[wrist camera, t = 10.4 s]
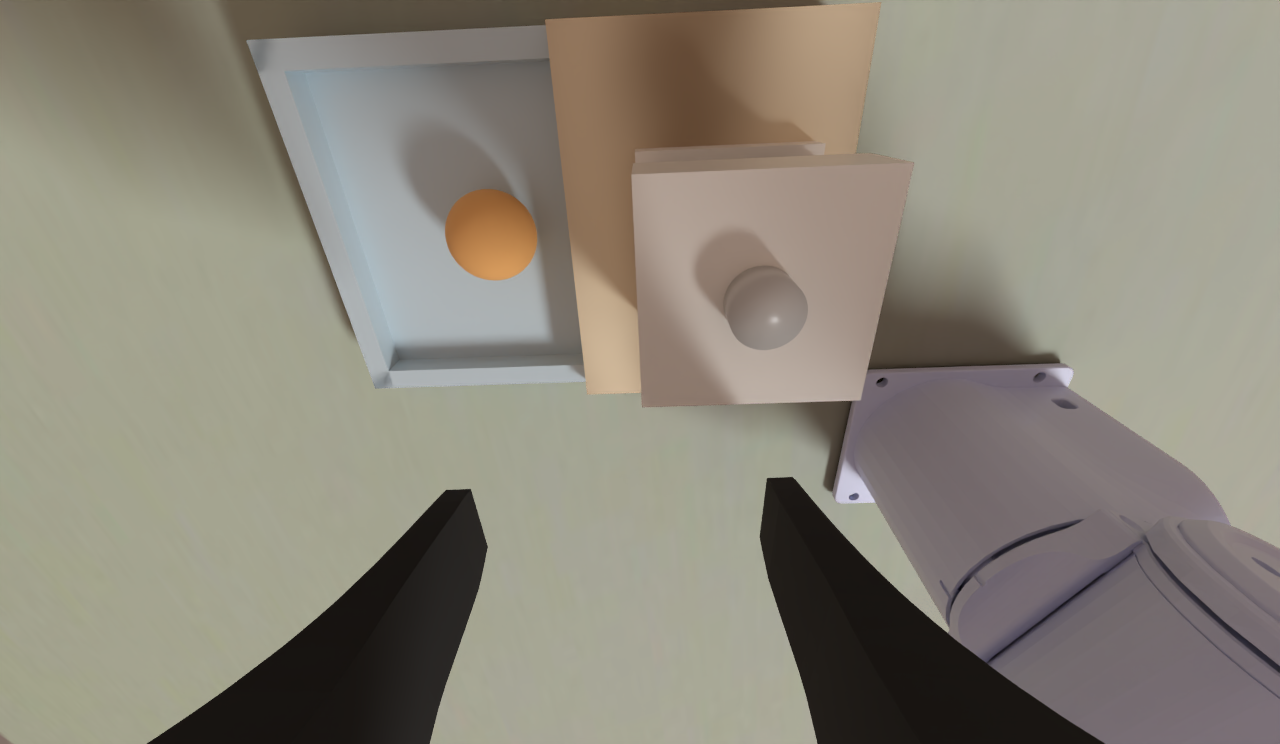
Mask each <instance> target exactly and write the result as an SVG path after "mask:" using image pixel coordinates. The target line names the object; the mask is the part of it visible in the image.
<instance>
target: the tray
mask: <svg viewBox="0 0 1280 744" xmlns="http://www.w3.org/2000/svg"><path fill="white" fill-rule="evenodd" d="M246 41H247V44H248V47H249V49H250V52H251V55H252V57H253V60H254V63H255V65H256V68H257V71H258V74H259V76H260V79H261V82H262V84H263V87H264V90H265V92H266V95H267V98H268V101H269V103H270V106H271V109H272V111H273V114H274V117H275V119H276V122H277V125H278V127H279V130H280V133H281V136H282V138H283V141H284V144H285V146H286V149H287V152H288V154H289V157H290V160H291V163H292V165H293V168H294V171H295V173H296V176H297V179H298V181H299V184H300V187H301V189H302V192H303V195H304V198H305V200H306V203H307V206H308V208H309V211H310V214H311V216H312V219H313V222H314V225H315V227H316V230H317V233H318V235H319V238H320V241H321V243H322V246H323V249H324V251H325V254H326V257H327V260H328V262H329V265H330V268H331V270H332V273H333V276H334V278H335V281H336V284H337V287H338V289H339V292H340V295H341V297H342V300H343V303H344V305H345V308H346V311H347V313H348V316H349V319H350V322H351V324H352V327H353V330H354V332H355V335H356V338H357V340H358V343H359V346H360V349H361V351H362V354H363V357H364V359H365V362H366V365H367V367H368V370H369V373H370V375H371V378H372V381H373V384H374V386H375V388H406V387H436V386H467V385H498V384H528V383H559V382H586V379H585V370H584V361H583V353H582V344H581V335H580V326H579V317H578V308H577V299H576V290H575V281H574V273H573V264H572V255H571V246H570V237H569V228H568V219H567V210H566V201H565V193H564V184H563V175H562V166H561V157H560V148H559V139H558V130H557V121H556V113H555V104H554V95H553V86H552V77H551V68H550V59H549V50H548V41H547V33H546V25H535V26H516V27H496V28H476V29H456V30H436V31H416V32H396V33H376V34H356V35H336V36H317V37H297V38H277V39H257V40H246ZM480 189H495V190H499V191H503V192H506V193H508V194H510V195H512V196H513V197H515V198H516V199H518V200H519V201H520V202H521V203H522V204H523V205H524V206H525V207H526V208H527V210H528V211H529V213H530V214H531V216H532V218H533V220H534V223H535V226H536V230H537V247H536V251H535V254H534V256H533V258H532V260H531V262H530V263H529V265H528V266H527V267H526V268H525V269H524V270H523V271H522V272H520V273H519V274H517V275H515V276H513V277H511V278H508V279H504V280H485V279H482V278H478V277H476V276H474V275H472V274H470V273H468V272H467V271H465V270H464V269H463V268H462V267H461V266H460V265H459V264H458V263H457V262H456V261H455V259H454V258H453V256H452V255H451V253H450V251H449V249H448V246H447V242H446V237H445V224H446V220H447V216H448V214H449V212H450V210H451V208H452V207H453V205H454V204H455V203H456V202H457V201H458V200H459V199H460V198H461V197H463V196H464V195H466V194H468V193H470V192H472V191H475V190H480Z"/></svg>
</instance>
